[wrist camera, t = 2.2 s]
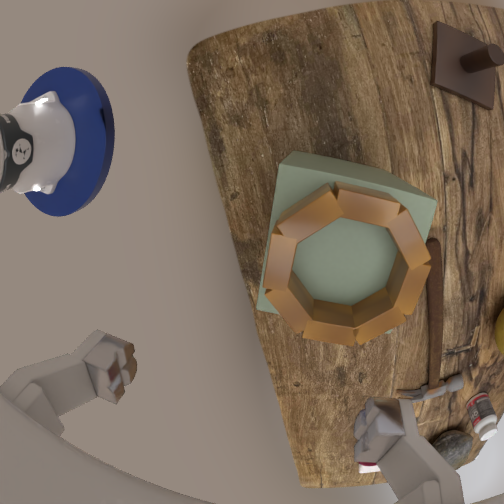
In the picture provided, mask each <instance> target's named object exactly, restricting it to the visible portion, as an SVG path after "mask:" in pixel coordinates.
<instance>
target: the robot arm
mask: <svg viewBox="0 0 504 504" xmlns="http://www.w3.org/2000/svg"><path fill="white" fill-rule="evenodd" d="M75 143H76V136H75V128H74V123H73V120H72V117H71V115H70V113H69V112H68V110H67V109H66V108H65V107H64V106H63V105H62V104H61V103H60V100H59V97H58V95H57V93H56V92H55V91H49V92H47V93H45V94H43V95H42V96H40V97H38V98H36V99H34V100H32V101H30V102H28V103H21V104H19V105H18V106H17V107H15V108H14V109H12V110H11V111H10V112H9V113H7V114H0V193H1V192H4V191H6V190H8V189H12V190H14V191H15V192H18V193H19V194H23V193H26V192H30V191H33V190H35V191H41V192H43V193H45V194H52V193H53V192H54V190H55V188H56V186H57V183H58V181H59V180H60V179H61V178H62V177H63V176H64V175H65V174H66V172H67V171H68V169H69V167H70V165H71V163H72V160H73V157H74V152H75ZM134 352H135V350H134V345H133V344H132V343H130V342H127V341H125V340H122V339H120V338H117V337H115V336H112V335H110V334H107V333H104V332H102V331H100V330H96V331H94V332H93V333H91V334H90V335H89V337H87V338H86V340H85V341H84V342H83V343H82V344H81V345H80V346H79V347H78V348H77V349H76V350H75V351H74V352H73V353H72V354H71V355H70V354H65V355H62V356H59V357H56V358H52V359H49V360H46V361H43V362H40V363H36V364H33V365H30V366H26V367H23V368H20V369H17V370H16V371H15V372H14V373H13V374H12V375H11V376H10V377H9V378H8V379H7V380H6V381H5V382H4V383H3V384H2V385H1V386H0V504H214V503H211V502H207V501H203V500H200V499H196V498H193V497H190V496H186V495H183V494H180V493H177V492H174V491H171V490H168V489H166V488H163V487H160V486H158V485H155V484H152V483H150V482H147V481H145V480H142V479H140V478H138V477H135V476H133V475H131V474H129V473H126V472H124V471H122V470H119V469H118V468H116V467H113V466H111V465H109V464H107V463H105V462H103V461H101V460H100V459H98V458H96V457H93V456H92V455H90V454H88V453H86V452H85V451H83V450H81V449H79V448H77V447H76V446H74V445H73V444H71V443H69V442H68V441H66V440H64V439H63V438H61V437H60V435H61V434H62V433H63V431H64V426H63V424H62V423H61V421H60V419H59V418H58V417H59V416H61V415H63V414H65V413H67V412H69V411H71V410H73V409H75V408H77V407H79V406H81V405H83V404H85V403H87V402H89V401H90V400H92V399H94V398H96V397H97V396H98V397H100V398H102V399H105V400H107V401H109V402H112V403H114V404H117V403H118V401H119V400H120V398H121V397H122V396H123V394H124V392H125V390H124V386H126V385H128V384H130V383H131V382H132V381H133V379H134V377H135V374H136V371H137V361H136V359H135V358H134V357H133V353H134ZM354 436H355V438H356V439H357V440H358V442H357V443H356V444H355V446H354V462H371V463H377V466H378V467H379V469H380V470H381V472H382V474H383V475H384V477H385V479H386V480H387V482H388V483H389V485H390V486H391V488H392V490H393V491H394V493H395V494H396V496H397V498H398V499H399V501H397V502H396V503H395V504H464V498H463V491H462V486H461V480H460V476H459V474H458V473H457V472H456V471H455V470H454V469H453V468H452V467H451V466H450V465H449V464H448V462H447V461H446V460H445V459H444V458H443V457H442V456H441V455H440V454H439V453H438V452H437V451H436V450H435V448H434V447H433V446H432V445H431V444H430V443H429V442H428V441H427V440H426V439H425V438H424V437H423V436H419V432H418V427H417V422H416V418H415V413H414V409H413V405H412V401H411V400H410V399H396V398H382V397H370V398H368V399H367V401H366V402H365V409H363V410H361V411H360V412H359V414H358V416H357V417H356V421H355V424H354ZM472 504H504V493H503V494H500V495H497V496H494V497H491V498H489V499H485V500H482V501H479V502H475V503H472Z"/></svg>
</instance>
